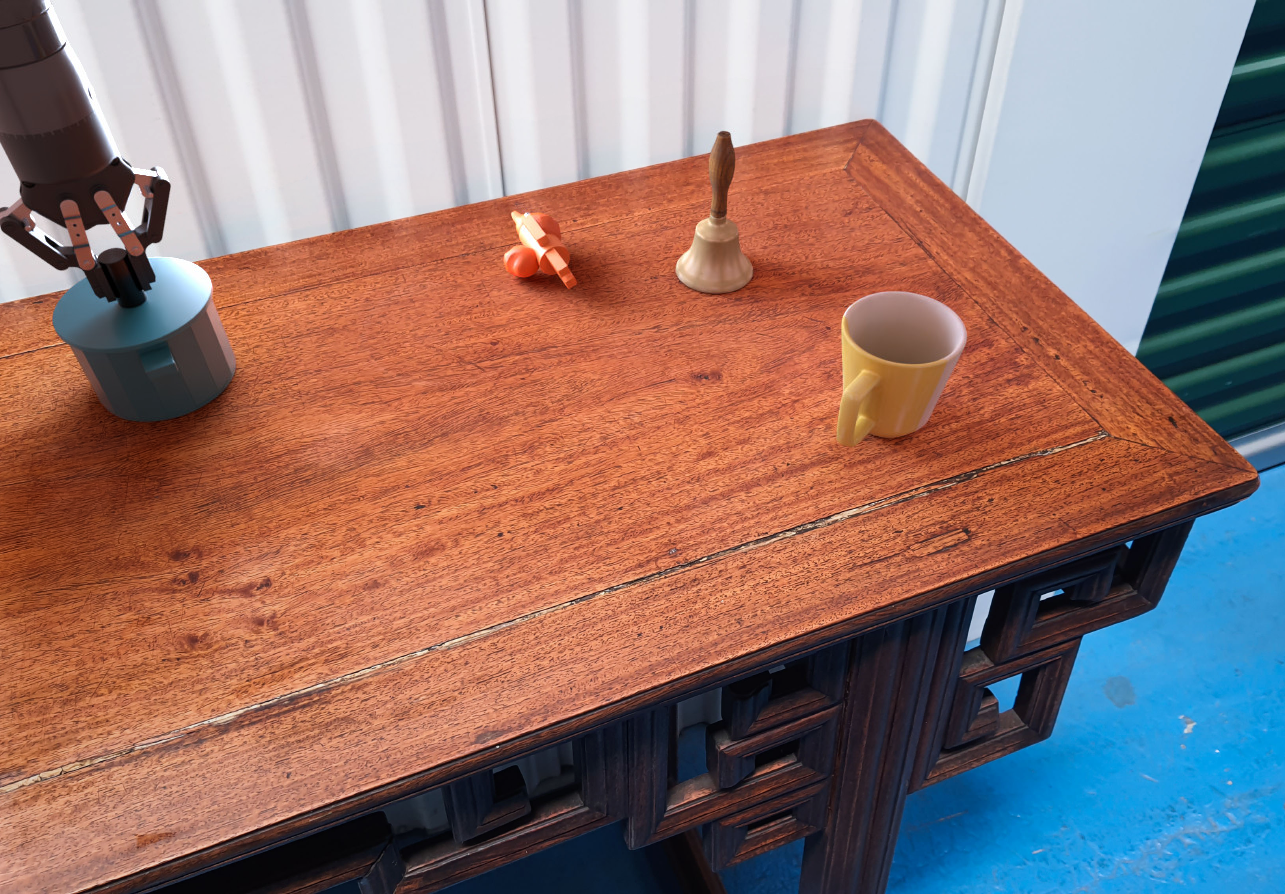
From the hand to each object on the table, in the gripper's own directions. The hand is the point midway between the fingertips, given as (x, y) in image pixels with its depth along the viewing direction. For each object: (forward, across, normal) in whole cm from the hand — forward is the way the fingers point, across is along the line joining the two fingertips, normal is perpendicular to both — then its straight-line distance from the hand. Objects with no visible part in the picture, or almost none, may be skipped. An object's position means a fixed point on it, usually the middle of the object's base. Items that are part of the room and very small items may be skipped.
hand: (128, 290), depth 88 cm
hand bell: (+10, -54, +13) cm, 57 cm away
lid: (+2, 0, 0) cm, 2 cm away
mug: (+10, -53, +40) cm, 67 cm away
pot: (+10, 0, 0) cm, 10 cm away
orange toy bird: (+10, -38, +3) cm, 40 cm away
